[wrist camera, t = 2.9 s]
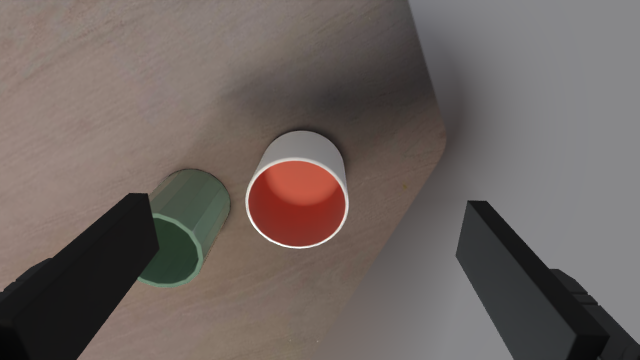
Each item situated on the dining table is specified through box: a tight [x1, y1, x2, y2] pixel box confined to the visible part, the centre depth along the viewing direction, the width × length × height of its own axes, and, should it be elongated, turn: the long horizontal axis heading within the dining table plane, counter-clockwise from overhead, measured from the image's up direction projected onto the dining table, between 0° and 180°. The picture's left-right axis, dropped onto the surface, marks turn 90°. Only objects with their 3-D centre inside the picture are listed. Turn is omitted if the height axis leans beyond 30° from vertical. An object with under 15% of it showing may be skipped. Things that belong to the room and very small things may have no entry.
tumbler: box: [137, 169, 230, 287], centre depth 39 cm, size 9×9×11 cm
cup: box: [245, 131, 349, 248], centre depth 37 cm, size 10×10×10 cm
